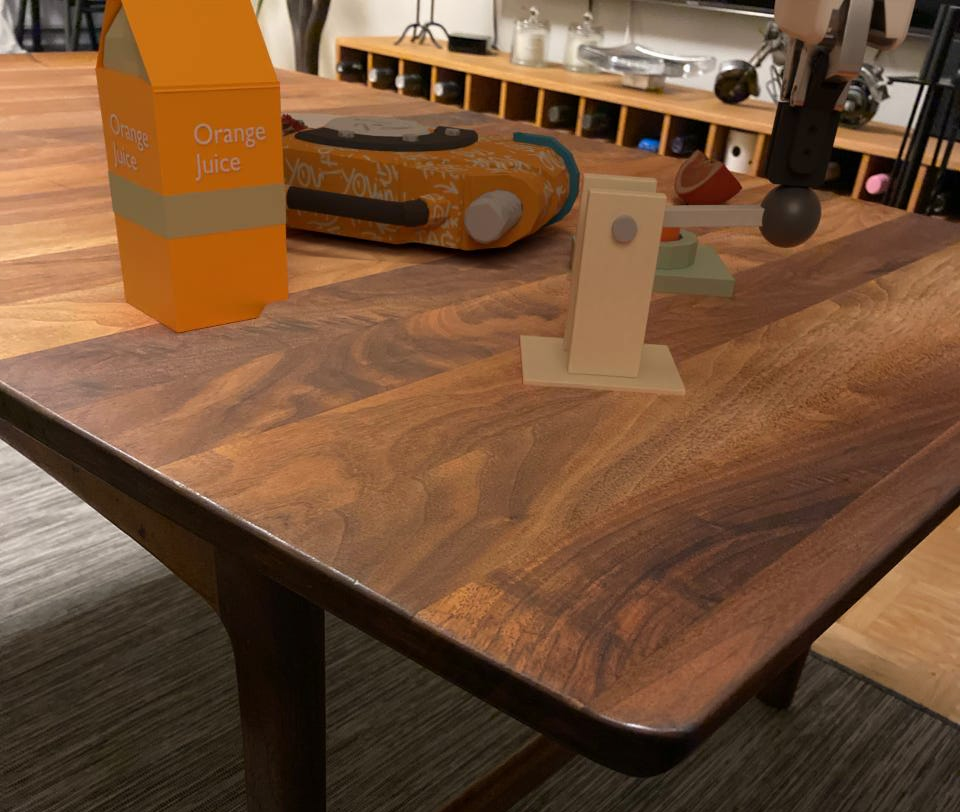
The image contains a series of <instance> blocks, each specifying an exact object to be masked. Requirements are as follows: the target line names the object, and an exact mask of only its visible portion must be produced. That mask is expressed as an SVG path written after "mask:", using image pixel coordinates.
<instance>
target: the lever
mask: <svg viewBox="0 0 960 812" xmlns="http://www.w3.org/2000/svg"><path fill="white" fill-rule="evenodd" d="M639 192H642V191H639ZM821 218H822V204H821V201H820V198H819V196H818V195H817V193H816V191H814V189H813V188H812V187H803V186H791V185H779V184H777V186H774V187H773V188H772V189H771V190H770V191H768V192H767V193H766V195H765V196H764V198H763V199H762V201H761V203H760V204H720V205H689V204H688V205H685V204H683V205H681V204H680V205H679V204H678V205H666V209H665V215H664V221H663V227H662V228H673V227H681V228H751V227H752V228H758V229H759V232H760V234H761V235H762V237H763V238H764V240H766V241H767V242H768V243H769V244H770V245H772V246H774V247H777V248H781V249H791V248H796V247H798V246H800V245H802V244H804V243H806V242H807V241H808V240H809V239H811V237H812V236H813V235H814V234H815V232H816V231H817V229H818V228H819V225H820V222H821Z"/></svg>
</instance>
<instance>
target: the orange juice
mask: <svg viewBox="0 0 960 812" xmlns="http://www.w3.org/2000/svg"><path fill="white" fill-rule="evenodd" d="M104 6H105V7H104V13H103V18H102V19H103V20H102V25H101V26H102V27H101V32H100V37H99V38H100V39H99V43H98V44H99V46H98V51H97V58H96V65H95V67H94V70H95V78H96V86H97V93H98V101H99V108H100V116H101V123H102V131H103V138H104V146H105V155H106V161H107V169H108V170H107V175H108V181H109V182H108V184H109V190H110V197H111V198H110V199H111V207H112V212H113V215H114V222H115V230H116V237H117V245H118V252H119V260H120V268H121V276H122V282H123V284H122V285H123V291H124V298H125V302H126V303H128V304H129V305H131V306H133V307H134V308H136V309H138V310H139V311H141V312H142V313H145V314H146V315H147V316H149V317H151V318H152V319H154V320H155V321H157V322H159V323H161V324H162V325H164V326H165V327H167V328H169V329H171V330H172V331H174V332H175V333H183V332H189V331H193V330H200V329H204V328H210V327H215V326H220V325H225V324H231V323H236V322H241V321H247V320H252V319H258V318H260V316H261V314H262V312H263V310H264V309H265V307H266V306H267V304H269V303H270V304H271V303H275V302H281V301H287V300H289V278H288V276H289V275H288V253H287V251H288V250H287V249H288V248H287V229H286V203H285V183H284V173H283V148H282V123H281V113H282V102H281V81H280V80H279V78H278V76H277V74H276V71H275V67H274V64H273V62H272V58H271V56H270V53H269V50H268V48H267V44H266V42H265V38H264V36H263V32H262V30H261V26H260V24H259V20H258V17H257V15H256V13H255V10H254V7H253V6H254V5H253V4H252V1H251V0H105V5H104Z"/></svg>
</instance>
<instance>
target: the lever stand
mask: <svg viewBox="0 0 960 812" xmlns="http://www.w3.org/2000/svg"><path fill="white" fill-rule="evenodd" d="M658 183H659V182H658V180H657V179H656V177H647V176H646V177H643V176H632V175H617V174H604V173H589V172H583V173H582V177H581V188H580V195H579V203H578V212H577V221H576V231H575V236H576V238H575V246H574V255H573V263H572V269H571V273H570V282H569V291H568V297H567V298H568V299H567V308H566V315H565V324H564V333H563V337H552V336H550V337H549V336H536V335H523V334H522V335H519V352H520V353H519V354H520V365H521V367H520V368H521V378H522V385H524V386H537V387H538V386H540V387H555V388H568V389H583V390H598V391H615V392H630V393H641V394H643V393H644V394H658V395H661V394H662V395H672V396H686V394H687V388H686V386H685V384H684V382H683V380H682V377H681V375H680V372H679V369H678V367H677V365H676V363H675V360H674V358H673V356H672V353H671V350H670V347H669V345H667V344H654V343H645V337H646V331H647V325H648V318H649V314H650V313H649V312H650V306H651V301H652V293H653V292H652V289H653V283H654V276H655V270H656V264H657V258H658V252H659V246H660V240H661V233H662V227H663V221H664V215H665V209H666V206H667V202H668V196H667V195H666V193H663V192H657V191H658V185H659V184H658ZM639 191H642V192H639Z"/></svg>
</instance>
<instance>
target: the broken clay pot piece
mask: <svg viewBox="0 0 960 812" xmlns="http://www.w3.org/2000/svg"><path fill="white" fill-rule="evenodd" d="M676 173H677V174H676V176H675V179H674V184H673V185H674V187H673V188H674V192H675V193H676V195H677V196H678V198H679V199H681V200H682V201H683V202H684V203H686V204H688V205H723V204H725V203H727V202H728V201H730V200H731V199H733V198H734V197H735V196H737V194H739V193H740V192H741V191H742V190H743V187H742V184H741V183H740V181H739V180H738V179H737V178H736V177H735V175H734V174H733V173H732V172H731V171H730V169H729V168H728V167H727V166H726V164H724V163H723V162H722V161H720V160H718V159H717V157H713V158H709V157H708V156H707V154H705V153H704V152H703V151H702V150H700V149H696V150H695V151H694V152H693V153H692V154H691V155H690V156H689V157H687V159H686V160H685V161H684V162H683V163H682V164H681V165H680V166H679V169H678V171H677V172H676Z"/></svg>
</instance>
